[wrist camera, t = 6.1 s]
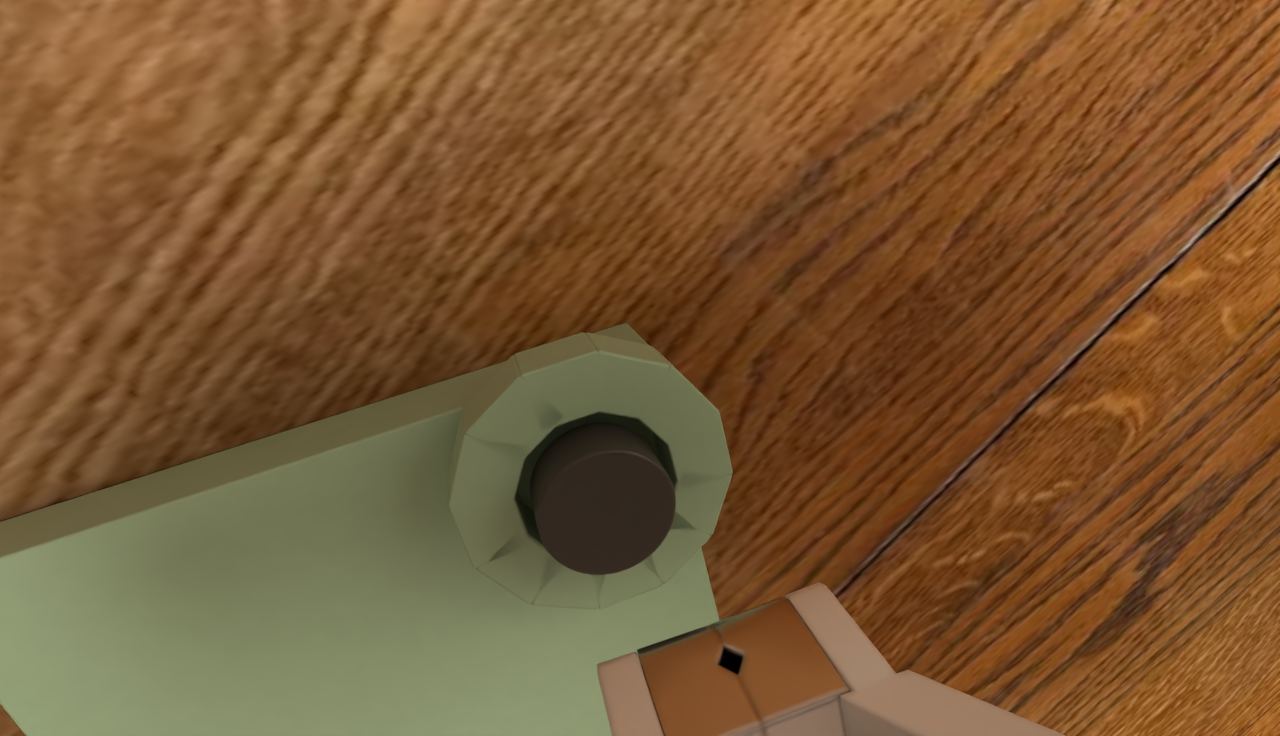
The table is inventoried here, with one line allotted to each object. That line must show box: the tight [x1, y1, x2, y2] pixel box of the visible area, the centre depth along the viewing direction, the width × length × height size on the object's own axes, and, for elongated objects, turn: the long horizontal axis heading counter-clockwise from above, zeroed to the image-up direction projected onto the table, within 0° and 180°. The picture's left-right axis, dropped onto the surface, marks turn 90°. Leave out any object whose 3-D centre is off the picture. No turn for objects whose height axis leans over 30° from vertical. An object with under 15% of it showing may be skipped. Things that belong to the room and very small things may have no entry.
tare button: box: [530, 423, 676, 575], centre depth 13 cm, size 3×3×1 cm
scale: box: [0, 323, 733, 736], centre depth 15 cm, size 15×13×4 cm
